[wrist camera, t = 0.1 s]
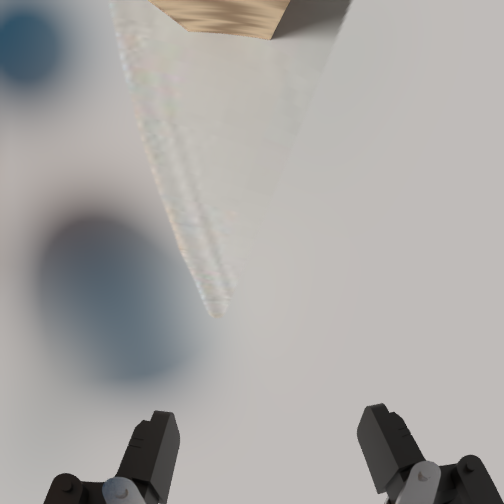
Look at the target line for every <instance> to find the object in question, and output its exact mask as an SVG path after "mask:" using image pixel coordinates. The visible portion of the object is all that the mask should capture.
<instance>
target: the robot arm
mask: <svg viewBox="0 0 504 504" xmlns="http://www.w3.org/2000/svg"><path fill="white" fill-rule="evenodd" d="M357 437H358V441H359V444H360V446H361V449H362V452H363V454H364V457H365V459H366V462H367V465H368V468H369V471H370V473H371V476H372V479H373V481H374V484H375V487H376V490H377V493H378V494H380V493H384V492H387V494H388V497H387V499H386V501H385V503H384V504H504V503H503V501H502V499H501V497H500V495H499V493H498V491H497V489H496V487H495V485H494V483H493V481H492V479H491V477H490V475H489V474H488V472H487V470H486V468H485V466H484V464H483V463H482V461H481V460H480V458H478V457H477V456H474V455H467V456H464V457H463V458H462V459H460V461H459V462H458V463H457V464H451V465H444V466H438V465H437V464H435V463H434V462H430V461H426V460H425V458H424V457H423V455H422V453H421V451H420V450H419V447H418V445H417V444H416V442H415V440H414V438H413V436H412V435H411V433H410V431H409V429H408V428H407V426H406V424H405V422H404V420H403V419H402V418H401V417H400V416H399V415H397V414H396V413H395V412H391V413H389V411H388V409H387V408H386V406H385V405H384V404H383V403H381V404H377V405H372V406H367V407H366V408H365V410H364V413H363V415H362V418H361V420H360V423H359V426H358V429H357ZM128 445H129V446H128V447H127V449H126V451H125V454H124V457H123V459H122V462H121V464H120V467H119V469H118V472H117V474H116V475H115V477H113V478H110V479H108V480H107V481H106V482H83V481H80V480H79V479H78V478H77V477H76V476H74V475H72V474H68V473H63V474H60V475H58V476H56V477H55V478H54V480H53V482H52V484H51V486H50V489H49V491H48V494H47V496H46V499H45V501H44V504H158V503H160V504H166V503H167V499H168V494H169V489H170V485H171V480H172V475H173V471H174V466H175V462H176V458H177V454H178V449H179V445H180V434H179V430H178V427H177V424H176V420H175V417H174V414H173V413H172V412H164V411H154V413H153V415H152V418H151V421H145V420H143V421H142V422H141V423H140V424H138V425H137V426H136V427H135V429H134V432H133V434H132V437H131V439H130V441H129V444H128Z"/></svg>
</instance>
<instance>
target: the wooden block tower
mask: <svg viewBox="0 0 504 504" xmlns="http://www.w3.org/2000/svg"><path fill="white" fill-rule="evenodd" d="M148 1H149V2H151V3H152V4H154V5H155V6H156V7H158V8H159V9H160V10H162V11H163V12H164V13H166V14H167V15H168V16H170V17H171V18H172V19H173V20H175V21H176V22H177V23H179V24H180V25H181V26H182V27H184V28H185V29H186V30H187V31H188V32H209V33H222V34H232V35H241V36H249V37H255V38H262V39H267V40H270V39H271V37H272V35H273V33H274V31H275V29H276V27H277V25H278V23H279V21H280V19H281V17H282V15H283V13H284V12H285V10H286V8H287V6H288V4H289V2H290V0H148Z"/></svg>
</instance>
